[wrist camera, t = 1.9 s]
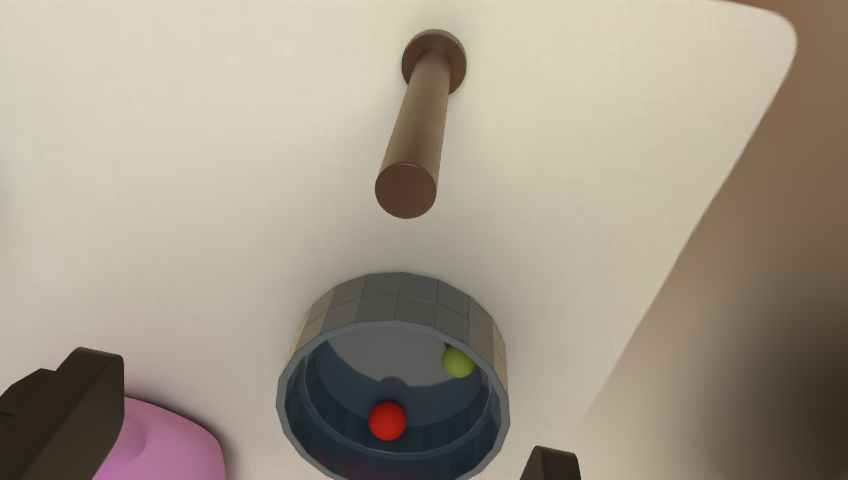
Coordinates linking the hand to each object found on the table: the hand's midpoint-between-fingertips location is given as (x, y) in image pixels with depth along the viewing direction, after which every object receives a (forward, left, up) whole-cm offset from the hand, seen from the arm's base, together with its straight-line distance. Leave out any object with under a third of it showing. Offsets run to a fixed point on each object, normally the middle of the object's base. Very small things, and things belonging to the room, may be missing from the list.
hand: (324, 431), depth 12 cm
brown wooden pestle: (0, -1, -28) cm, 28 cm away
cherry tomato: (-2, +25, -26) cm, 36 cm away
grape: (-6, +19, -26) cm, 33 cm away
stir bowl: (-2, +21, -28) cm, 35 cm away
